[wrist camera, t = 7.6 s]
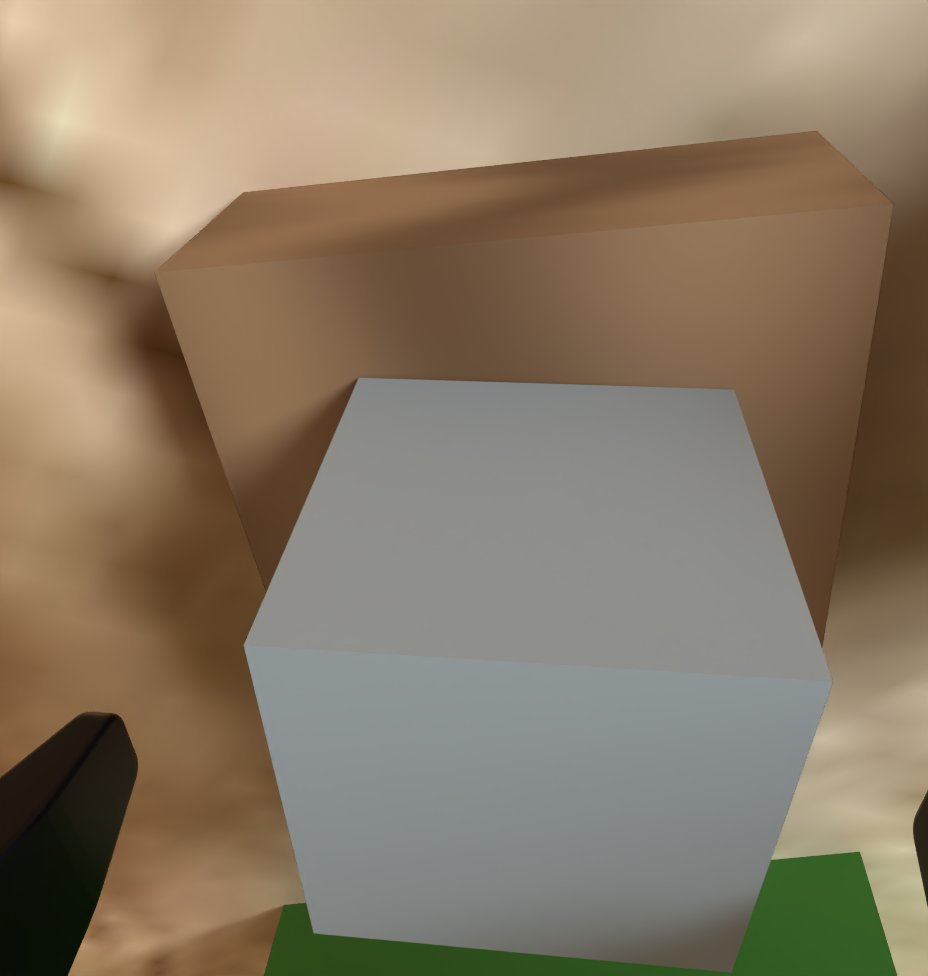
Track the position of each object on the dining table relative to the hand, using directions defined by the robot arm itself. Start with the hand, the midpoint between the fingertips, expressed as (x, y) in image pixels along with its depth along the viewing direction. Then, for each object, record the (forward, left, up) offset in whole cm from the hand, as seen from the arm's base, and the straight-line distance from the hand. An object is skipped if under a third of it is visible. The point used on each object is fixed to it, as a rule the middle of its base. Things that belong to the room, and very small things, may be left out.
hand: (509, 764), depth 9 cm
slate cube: (0, 0, -4) cm, 4 cm away
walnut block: (0, 0, -8) cm, 8 cm away
